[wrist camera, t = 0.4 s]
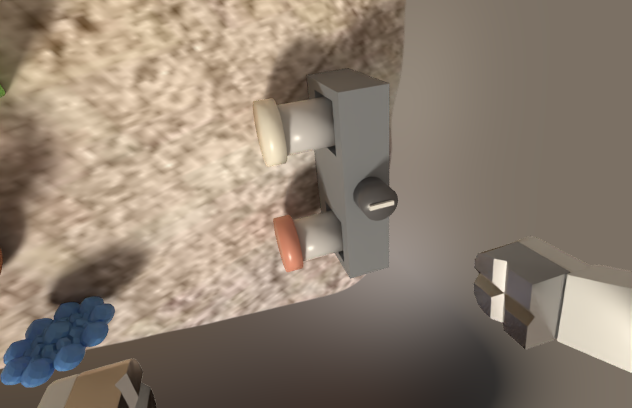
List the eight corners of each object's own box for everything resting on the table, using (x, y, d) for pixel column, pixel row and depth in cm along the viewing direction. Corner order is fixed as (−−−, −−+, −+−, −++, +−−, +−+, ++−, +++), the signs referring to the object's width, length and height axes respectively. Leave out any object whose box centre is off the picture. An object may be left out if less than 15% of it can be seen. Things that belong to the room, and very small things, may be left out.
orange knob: (270, 208, 49) (282, 237, 43) (327, 195, 51) (346, 220, 45) (278, 251, 52) (290, 283, 46) (331, 237, 54) (349, 266, 48)
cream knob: (249, 95, 42) (260, 110, 35) (316, 83, 43) (338, 96, 37) (260, 154, 45) (272, 177, 39) (322, 141, 47) (342, 161, 41)
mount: (306, 75, 45) (337, 92, 36) (348, 68, 46) (389, 83, 37) (323, 234, 56) (350, 278, 47) (356, 225, 58) (389, 267, 48)
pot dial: (352, 180, 41) (364, 193, 38) (385, 173, 41) (399, 185, 39) (353, 211, 43) (365, 225, 40) (385, 203, 43) (398, 217, 41)
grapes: (42, 340, 50) (6, 423, 40) (15, 305, 47) (-31, 386, 37) (131, 312, 53) (118, 385, 42) (111, 277, 49) (92, 347, 39)
